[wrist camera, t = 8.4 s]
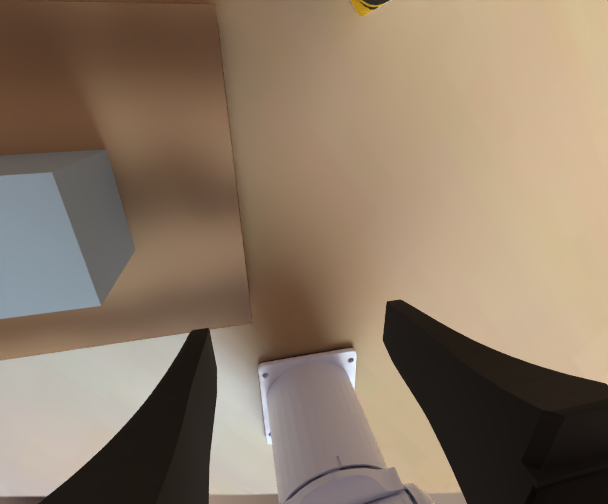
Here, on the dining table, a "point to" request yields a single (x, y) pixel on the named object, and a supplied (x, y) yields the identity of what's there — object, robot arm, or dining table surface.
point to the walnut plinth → (132, 159)
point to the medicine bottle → (367, 6)
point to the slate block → (59, 232)
